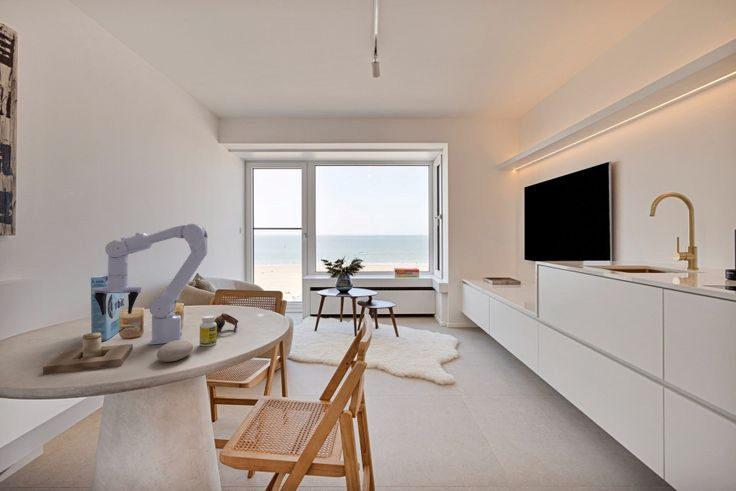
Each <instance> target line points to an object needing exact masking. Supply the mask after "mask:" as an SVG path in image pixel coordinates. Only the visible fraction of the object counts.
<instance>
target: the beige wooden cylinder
mask: <svg viewBox="0 0 736 491" xmlns="http://www.w3.org/2000/svg"><path fill="white" fill-rule="evenodd" d="M101 347H102V341H101V333H92V332H91V333H85V334H82V348H83V358H94V357H102V356H101ZM83 358H82V359H83Z"/></svg>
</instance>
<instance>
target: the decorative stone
mask: <svg viewBox="0 0 736 491" xmlns="http://www.w3.org/2000/svg"><path fill="white" fill-rule="evenodd" d="M193 349H194V345H193V343H192V341H189V340H187V339H180V340H175V341H172V342H169V343H164V344H163V345H162V346H161V347H160V348H158V350H157V353H156V357H157V359H158V360H159V361H161V362H164V363H170V362H176V361H179V360H181V359H183V358H186V357H187V356H189V355H190V354H191V353H192V351H193Z"/></svg>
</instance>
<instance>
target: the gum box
mask: <svg viewBox="0 0 736 491" xmlns="http://www.w3.org/2000/svg"><path fill="white" fill-rule="evenodd" d="M99 287H108V273H105V274H101V275H96V276H92V277H90V305H91V307H90V311H91V313H90V314H91V317H90V318H91V319H90V320H91V323H90V324H91V327H90V328H91V333H101V342H104V341H108V340H109V339H110V338H112V337H113V336H115V335H116V334H118V333H119V311H120V310H121V309H125V310H126V293H107V297H106V314H105V315H102V313H101V309H100V306H99V304H98V302H97V300H96V299H95V297H94V296H95V294H91V292H92V288H99ZM110 292H119V291H110Z"/></svg>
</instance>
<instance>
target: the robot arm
mask: <svg viewBox="0 0 736 491" xmlns="http://www.w3.org/2000/svg"><path fill="white" fill-rule="evenodd" d="M173 238H178V239H184V240H185V242H187V244H188V246H189V248H190V254H189V256H187V258H186V260H185V261H184V262H183V264H182V266H181V267H180V268H179V270H178V271H177V273H176V274H175V276H174V277H173V279H172V280H171V282H170V283H169V285H168V286H167V287H166V289H165V290H164V291H163V292H162V293H161V295H160V296H159V297H158V298H157V299H156V300H154V301H153V302H151V304H150V306H149V312H150V314H151V339H150V341H149V343H148V344H149V345H161V344H167V343H169V342H172V341H175V340H182V334H183V331H182V316H181V315H176V313H175V312H174V310H175V309H176V306H177V301H178V300H179V298H180V295H181V293H182V292H183V290H184V289H185V288H186V286H187V285H188V283H189V281H190V280H191V278H192V277H193V275H194V274H195V273H196V271H197V269H198V268H199V266H200V265H201V264H202V262H203V261H204V259H205V257H206V256H207V254H208V238H209V235H208V233H207V231H206V229H205V227H204V226H203V225H201V224H195V223H189V224H185V225H178V226H173V227H170V228H167V229H164V230H160V231H159V232H155V233H152V234H147V233H144V232H143V233H141V232H136V233H135V234H134V235H132V236H129V237H121V238H120V240H116V239H115V240H112V241H110V242H108V243H107V244H106V245H105V248H104V249H105V253H106V254H107V256H108V257H107V260H108V261H107V274H108V287H99V288H92V292H91V291H90V295H91V294H95V296H94V297H95V299H96V300H97V302H98V304H99V306H100V309H101V313H102V315H105V314H106V297H107V293H125V294H127V298H128V299H127V300H128V301H127V302H128V306H127V314H128V315H131V314H132V311H133V307H134V306H135V305H134V304H135V302H136V300H137V298H138V296H139V294H142V293H143V286H128V277H129V276H128V273H129V272H128V271H129V270H128V268H129V265H128V264H129V261H128V260H129V255H133V254H135V253H138V252H139V253H140V252H141V251H144V250H148V249H150V248H152V245H153V244H155V243H159V242H163V241H166V240H171V239H173ZM110 291H119V292H110Z"/></svg>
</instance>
